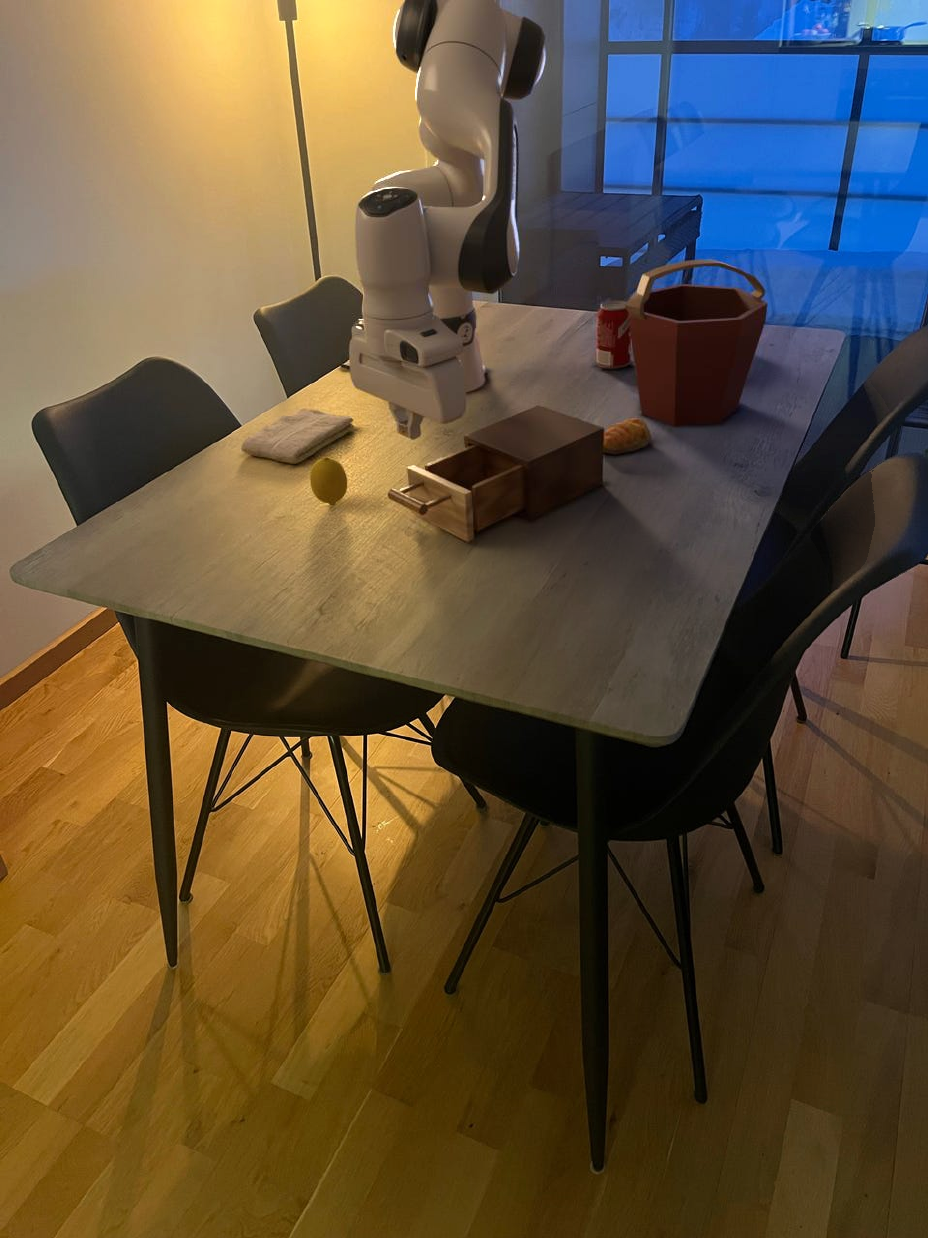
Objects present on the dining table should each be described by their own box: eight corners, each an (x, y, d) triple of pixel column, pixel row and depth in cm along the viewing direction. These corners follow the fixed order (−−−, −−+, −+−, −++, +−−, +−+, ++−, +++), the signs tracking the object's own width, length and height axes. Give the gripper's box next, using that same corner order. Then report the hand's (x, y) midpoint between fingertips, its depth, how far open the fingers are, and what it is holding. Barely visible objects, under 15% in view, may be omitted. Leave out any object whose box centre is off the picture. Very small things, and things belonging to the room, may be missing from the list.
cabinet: (529, 520, 137) (528, 461, 132) (467, 491, 146) (463, 435, 141) (602, 484, 145) (604, 427, 140) (539, 458, 154) (538, 404, 149)
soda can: (608, 373, 185) (610, 311, 178) (589, 364, 190) (590, 303, 183) (636, 366, 187) (639, 305, 180) (617, 357, 192) (619, 297, 185)
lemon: (356, 499, 146) (350, 451, 141) (338, 515, 142) (331, 467, 137) (326, 494, 148) (319, 447, 143) (307, 510, 144) (299, 462, 139)
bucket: (625, 434, 160) (632, 284, 146) (608, 387, 178) (612, 250, 164) (770, 426, 160) (791, 274, 145) (738, 380, 178) (753, 241, 164)
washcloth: (358, 428, 169) (356, 412, 167) (296, 468, 156) (293, 451, 155) (305, 418, 174) (302, 402, 173) (241, 457, 162) (238, 440, 160)
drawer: (436, 557, 128) (431, 509, 124) (380, 527, 136) (374, 480, 132) (541, 505, 139) (541, 459, 134) (484, 480, 147) (482, 436, 142)
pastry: (615, 461, 152) (616, 439, 150) (585, 449, 156) (585, 427, 154) (654, 443, 156) (656, 421, 154) (624, 432, 161) (625, 411, 159)
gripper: (331, 321, 122) (345, 421, 130) (431, 356, 109) (439, 465, 117) (370, 310, 126) (381, 408, 134) (472, 343, 113) (477, 449, 121)
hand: (409, 435), depth 125 cm, fingers closed
